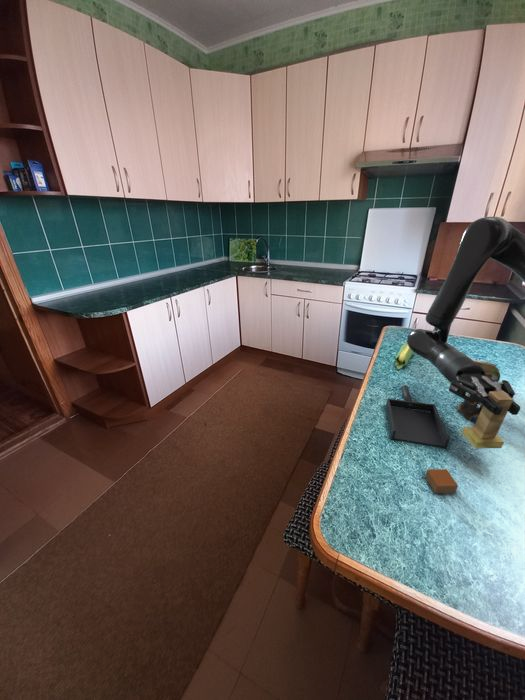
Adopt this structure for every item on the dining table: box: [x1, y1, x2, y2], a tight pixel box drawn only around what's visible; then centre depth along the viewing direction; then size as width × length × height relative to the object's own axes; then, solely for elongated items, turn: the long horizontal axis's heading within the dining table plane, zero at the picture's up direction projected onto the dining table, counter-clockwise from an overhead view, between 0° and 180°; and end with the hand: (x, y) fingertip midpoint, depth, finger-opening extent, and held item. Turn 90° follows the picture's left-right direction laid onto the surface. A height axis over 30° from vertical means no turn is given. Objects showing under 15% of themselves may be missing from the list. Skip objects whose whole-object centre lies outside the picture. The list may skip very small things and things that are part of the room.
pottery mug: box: [456, 393, 483, 421], centre depth 84 cm, size 12×10×8 cm
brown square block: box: [424, 468, 459, 494], centre depth 65 cm, size 4×4×2 cm
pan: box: [385, 384, 450, 449], centre depth 86 cm, size 25×13×3 cm, turn 165°
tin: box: [471, 358, 501, 382], centre depth 100 cm, size 15×3×8 cm, turn 55°
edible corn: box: [394, 342, 415, 370], centre depth 115 cm, size 5×20×4 cm, turn 144°
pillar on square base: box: [461, 391, 514, 449], centre depth 65 cm, size 6×5×13 cm
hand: (508, 411), depth 60 cm, fingers closed on pillar on square base, 3 cm apart
